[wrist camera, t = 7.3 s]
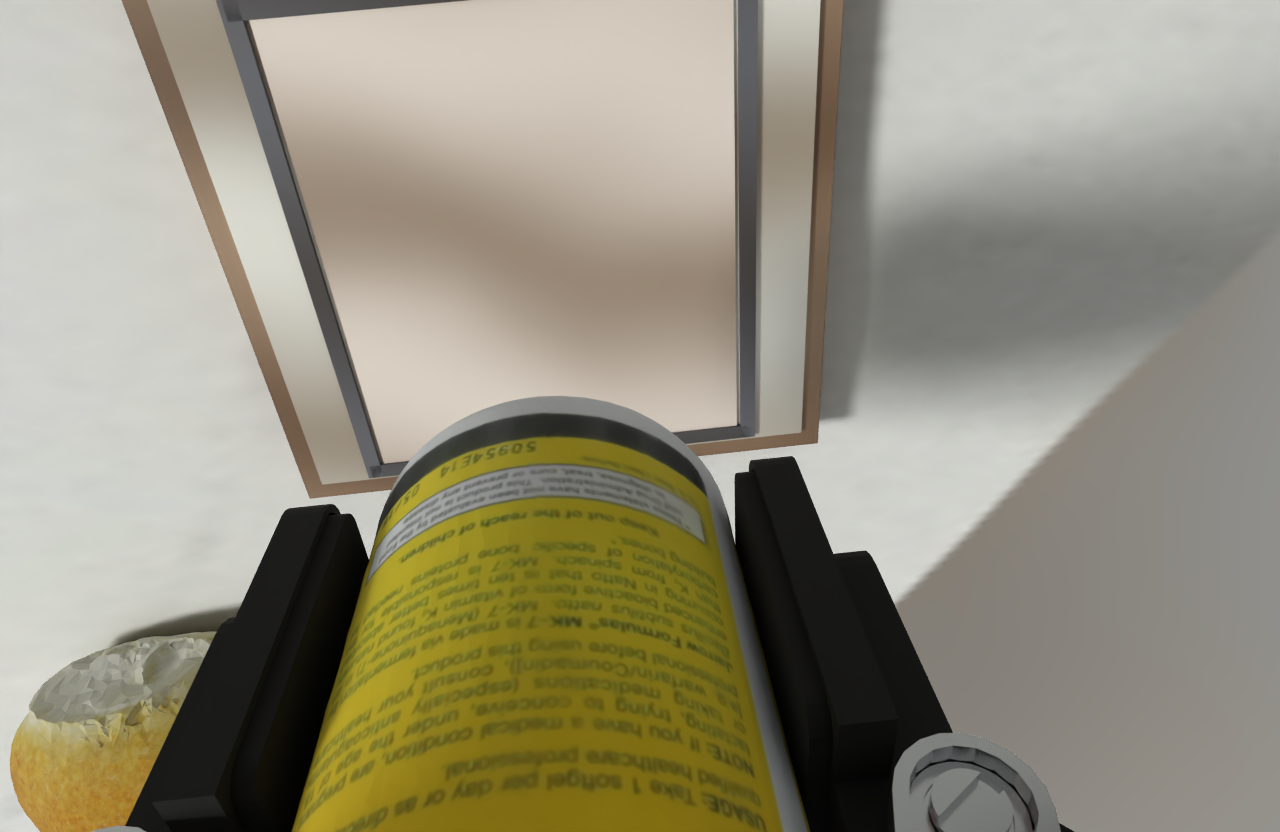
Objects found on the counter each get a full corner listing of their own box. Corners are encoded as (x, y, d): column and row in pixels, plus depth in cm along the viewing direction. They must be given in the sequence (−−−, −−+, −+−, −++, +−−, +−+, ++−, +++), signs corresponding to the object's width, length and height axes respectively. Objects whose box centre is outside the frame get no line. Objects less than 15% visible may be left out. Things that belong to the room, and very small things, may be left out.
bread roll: (187, 856, 25) (121, 1006, 22) (-1, 657, 20) (-122, 807, 17) (446, 809, 24) (420, 956, 21) (311, 590, 20) (249, 733, 16)
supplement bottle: (311, 481, 11) (-161, 1582, 4) (629, 322, 10) (784, 1374, 3) (506, 685, 13) (440, 1590, 6) (774, 573, 12) (1054, 1477, 5)
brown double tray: (-36, -503, 10) (-122, -557, 9) (857, -566, 10) (898, -626, 9) (319, 475, 18) (301, 520, 17) (808, 423, 19) (826, 461, 17)
